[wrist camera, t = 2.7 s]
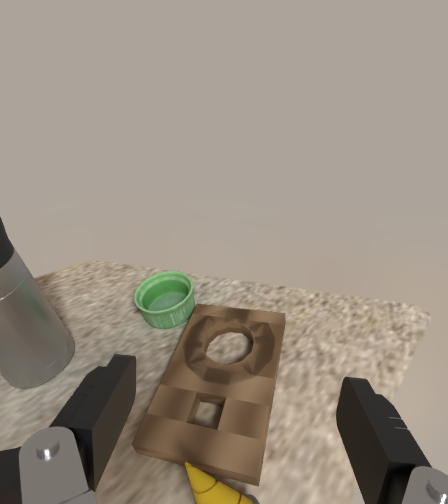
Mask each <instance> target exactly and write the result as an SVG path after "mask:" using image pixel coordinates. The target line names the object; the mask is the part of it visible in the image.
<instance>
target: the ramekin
mask: <svg viewBox="0 0 448 504" xmlns="http://www.w3.org/2000/svg"><path fill="white" fill-rule="evenodd" d="M134 301H135V304H136V306H137V307H138V309H140V311H141V312H142V314H143V316H144V318H145V320H146V321H147V322H148V323H149V324H150V325H151V326H153V327H155V328H160V329H167V328H172V327H175V326H178V325H180V324H182V323H183V322H185V321H186V320H187V319H188V318H189V317H190V316H191V314H192V313H193V311H194V307H195V300H194V294H193V282H192V280H191V278H190V277H189V276H188V275H186V274H185V273H182V272H178V271H166V272H161V273H158V274H155V275H153V276H151V277H149V278H147V279H146V280H145V281H143V282H142V283H141V284H140V285H139V287H138V288H137V290H136V292H135V294H134Z"/></svg>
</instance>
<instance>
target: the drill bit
mask: <svg viewBox="0 0 448 504" xmlns="http://www.w3.org/2000/svg"><path fill="white" fill-rule="evenodd" d="M185 467H186V470H187V473H188V477H189V480H190V484H191V487H192V490H193V494H194V497H195V501H196V504H260V503H259V502H258V500H257V499H256V498H255V497H254V496H253V495H250V494H245V495H242V494H240V493H238V492H237V491H235V490H233V489H232V488H230V487H228V486H226V485H225V484H223V483H221V482H220V481H216V482H215V480H216V479H215V478H213V477H211V476H209V475H208V474H206V473H204V472H203V471H201V470H199V469H198V468H196V467H192V465H191V464H189V463H187V462H185Z"/></svg>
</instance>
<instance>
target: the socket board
mask: <svg viewBox="0 0 448 504" xmlns="http://www.w3.org/2000/svg"><path fill="white" fill-rule="evenodd" d="M284 329H285V313H277V312H267V311H258V310H249V309H240V308H231V307H222V306H213V305H204V304H197V305H196V307H195V310H194V312H193V314H192V316H191V318H190V320H189V323H188V325H187V327H186V329H185V331H184V333H183V335H182V338H181V340H180V342H179V344H178V346H177V348H176V350H175V353H174V355H173V357H172V359H171V361H170V363H169V366H168V368H167V370H166V372H165V374H164V376H163V378H162V381H161V383H160V385H159V387H158V389H157V391H156V393H155V396H154V398H153V400H152V402H151V404H150V406H149V408H148V411H147V413H146V415H145V417H144V419H143V421H142V424H141V426H140V428H139V430H138V432H137V434H136V436H135V439H134V441H133V443H132V445H133V447H134V448H135V450H136V451H137V453H140V454H143V455H147V456H151V457H154V458H158V459H161V460H165V461H169V462H172V463H176V464H180V465H183V466H185V462H187V463H189V464H191V465H192V467H196V468H198V469H199V470H201V471H205V472H208V473H212V474H216V475H219V476H223V477H226V478H230V479H234V480H237V481H241V482H245V483H248V484H252V485H255V486H259V481H260V475H261V469H262V463H263V457H264V451H265V445H266V438H267V432H268V426H269V420H270V414H271V408H272V402H273V396H274V390H275V384H276V378H277V371H278V365H279V359H280V353H281V347H282V341H283V335H284ZM228 332H235V333H242V334H244V335H245V336H247V337H248V338H250V339H251V340H252V342H253V348H252V352H251V353H250V354H249V355H248V356H246V357H245V358H244V359H243V360H242V361H240V362H237V363H233V364H230V365H225V364H219V363H214V362H213V361H212V360H211V359H210V358H208V357H207V356H206V354H205V353H206V351H207V348H208V345H209V343H210V342H211V341H212V340H214V339H215V338H216V337H217V336H218V335H221V334H225V333H228ZM200 401H202V402H207V403H212V404H217V405H222V406H224V408H223V412H222V415H221V419H220V422H219V426H218V429H217V430H216V429H212V428H208V427H203V426H199V425H195V424H192V423H193V421H194V418H195V415H196V412H197V409H198V406H199V403H200Z"/></svg>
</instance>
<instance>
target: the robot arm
mask: <svg viewBox="0 0 448 504" xmlns="http://www.w3.org/2000/svg"><path fill="white" fill-rule="evenodd" d="M74 348H75V344H74V341H73V339H72V337H71V336H70V334H69V332H68V331H67V329H66V328H65V326H64V325H63V323H62V321H61V320H60V318H59V317H58V315H57V314H56V312H55V310H54V309H53V307H52V306H51V304H50V303H49V301H48V300H47V298H46V296H45V295H44V293H43V292H42V290H41V289H40V287H39V286H38V284H37V282H36V281H35V279H34V278H33V276H32V275H31V273H30V272H29V270H28V268H27V267H26V266H25V264H24V262H23V261H22V259H21V258H20V256H19V255H18V253H17V252H16V250H15V248H14V247H13V245H12V244H11V242H10V240H9V239H8V237H7V234H6V232H5V228H4V225H3V222H2V220H1V217H0V374H1V375H2V376H3V377H4V378H5V379H6V380H7V381H8V382H9V383H10V385H12V386H13V387H16V388H20V389H27V388H32V387H36V386H38V385H41V384H43V383H45V382H47V381H49V380H50V379H52V378H53V377H55V376H56V375H57V374H58V373H60V372H61V371H62V370H63V369H64V368H65V366H66V365H67V364H68V363H69V361H70V359H71V358H72V355H73V353H74ZM135 393H136V357H135V356H130V355H120V354H115V355H114V356H113V357H112V359H111V361H110V362H109V364H108V365H107V367H102V366H98V367H97V368H95V369H94V370H93V371H91V372H90V373H88V374H87V375H86V377H85V378H84V379H83V381H82V382H81V383H80V385H79V387H78V388H77V389H76V390H75V392H74V393H73V396H71V397H70V399H69V400H68V401H67V403H66V404H65V406H64V407H63V408H62V410H61V411H60V413H59V414H58V415H57V417H56V418H55V419H54V421H53V422H52V424H51V425H50V426H49V428H46V429H43V430H41V431H39V432H37V433H35V434H34V435H32V436H31V437H30V438H29V439H28V440H27V441H26V442H25V443H24V444H23V446H22V447H18V448H15V449H10V450H4V451H0V504H97V503H96V499H95V496H94V493H93V492H95V490H96V488H97V485H98V483H99V481H100V479H101V476H102V474H103V472H104V470H105V467H106V465H107V463H108V461H109V458H110V456H111V454H112V452H113V449H114V447H115V445H116V443H117V440H118V438H119V436H120V433H121V431H122V429H123V427H124V424H125V422H126V420H127V418H128V415H129V413H130V411H131V409H132V406H133V403H134V399H135ZM336 421H337V427H338V430H339V433H340V436H341V438H342V441H343V444H344V447H345V449H346V452H347V455H348V458H349V461H350V463H351V466H352V469H353V472H354V474H355V477H356V480H357V483H358V486H359V488H360V491H361V494H362V496H363V499H364V502H365V504H448V475H446V474H444V473H443V472H441V471H439V470H436V469H434V468H432V467H431V465H430V463H429V462H428V460H427V459H426V457H425V455H424V454H423V452H422V451H421V449H420V447H419V446H418V444H417V442H416V441H415V439H414V438H413V436H412V434H411V433H410V431H409V430H407V426H406V425H405V423H404V422H403V420H401V417H400V415H399V413H398V412H397V410H396V409H395V407H394V406H393V405H392V404H391V403H390V402H389V401H388V400H387V399H386V398H385V397H384V396H382V395H379V394H375V392H374V390H373V389H372V387H371V385H370V383H369V382H368V380H367V379H362V378H352V377H345V378H344V380H343V383H342V387H341V392H340V397H339V401H338V406H337V411H336Z"/></svg>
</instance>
